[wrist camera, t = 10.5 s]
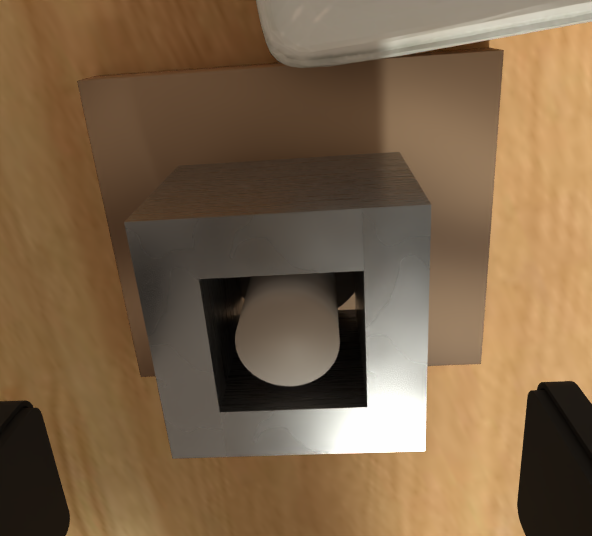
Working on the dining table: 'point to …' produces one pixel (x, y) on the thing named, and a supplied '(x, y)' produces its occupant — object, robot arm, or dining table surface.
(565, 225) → the dining table surface
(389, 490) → the dining table surface
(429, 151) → the shaft block
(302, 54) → the square plate
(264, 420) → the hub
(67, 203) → the dining table surface
